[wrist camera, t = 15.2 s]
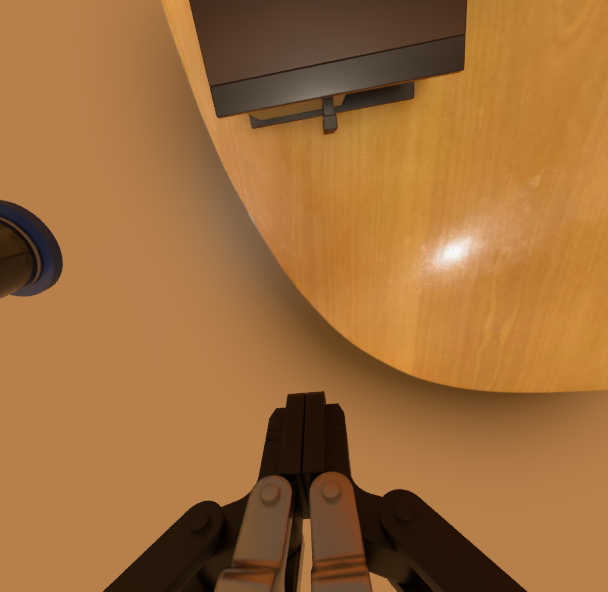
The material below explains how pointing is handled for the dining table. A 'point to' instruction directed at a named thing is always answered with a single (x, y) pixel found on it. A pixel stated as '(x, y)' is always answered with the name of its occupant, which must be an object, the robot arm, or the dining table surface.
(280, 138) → the dining table surface
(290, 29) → the cabinet
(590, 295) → the dining table surface
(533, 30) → the dining table surface
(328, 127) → the door
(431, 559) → the robot arm
